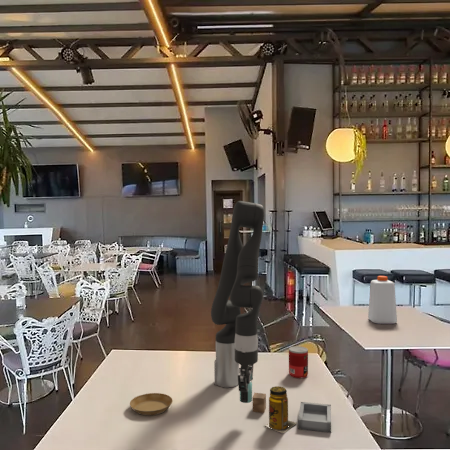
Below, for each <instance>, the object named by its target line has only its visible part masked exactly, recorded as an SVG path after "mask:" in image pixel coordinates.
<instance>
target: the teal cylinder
mask: <svg viewBox="0 0 450 450" xmlns="http://www.w3.org/2000/svg"><path fill="white" fill-rule="evenodd" d="M242 387H244V386H242ZM239 402H241V391H239ZM252 402H253V382H252V383H251V382H250V383H249V384H248V402H247V403H246V404H249V403H252ZM242 403H243V404H245V403H244V402H242Z"/></svg>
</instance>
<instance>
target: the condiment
mask: <svg viewBox="0 0 450 450" xmlns="http://www.w3.org/2000/svg"><path fill="white" fill-rule="evenodd" d="M268 419H269V420H268V423H269V427H270V428H272V429H273V430H272V431H274V432H278V433H281V434H285V433H286V432H288V431H289V430H291V428H292V427H294V426H295V425H296V424H297V422H295V421H292V420H289V397H288V395H287V389H286V388H285V387H284V386H277V385H276V386H272V387H271V388H270V389H269V397H268ZM268 423H267V424H266V425H268ZM288 426H289V427H288ZM263 427H265V425H264V426H263ZM265 428H266V427H265ZM270 428H268V429H269V430H271V429H270Z"/></svg>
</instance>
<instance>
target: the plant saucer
mask: <svg viewBox="0 0 450 450" xmlns="http://www.w3.org/2000/svg"><path fill="white" fill-rule="evenodd" d="M173 401H174V400H173V398H172V397H171V396H170V395H168V394H166V393H160V392H151V393H149V392H148V393H144V394H140V395H137V396H135V397H134V398H132V399H131V400H130V402H129V406H130V407H131V409H132V410H133V411H135V413H137V414H139V415H141V416H156V415H159V414H162V413H164V412H166V411H167V410H168V409H169V408H170V406H172V403H173Z"/></svg>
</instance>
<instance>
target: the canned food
mask: <svg viewBox="0 0 450 450" xmlns="http://www.w3.org/2000/svg"><path fill="white" fill-rule="evenodd" d="M288 374H289V376H290V377H291V378H295V379H305V378H308V374H309V349H308V348H307V347H306V346H298V345H296V346H295V345H294V346H289V348H288Z"/></svg>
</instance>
